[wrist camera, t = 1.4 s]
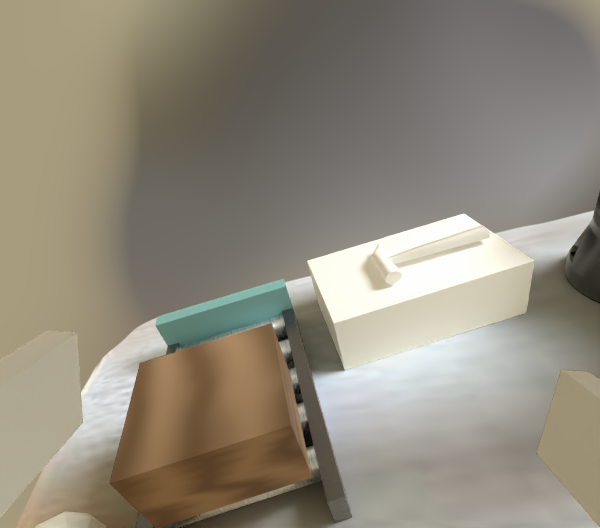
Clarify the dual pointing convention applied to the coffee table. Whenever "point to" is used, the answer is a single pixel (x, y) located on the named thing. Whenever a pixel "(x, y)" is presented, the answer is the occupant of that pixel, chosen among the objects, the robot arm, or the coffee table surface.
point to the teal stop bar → (224, 314)
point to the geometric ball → (72, 521)
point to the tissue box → (419, 288)
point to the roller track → (310, 421)
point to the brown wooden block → (210, 429)
